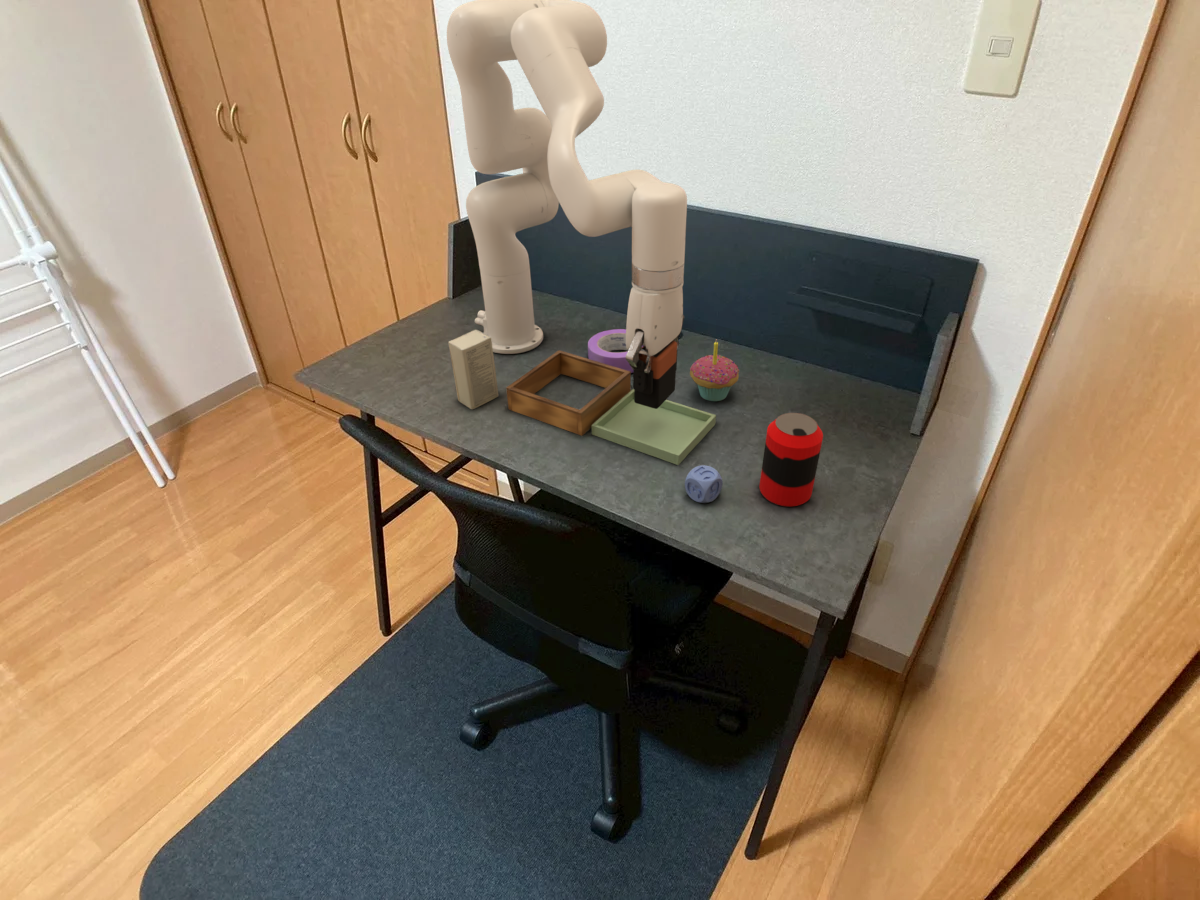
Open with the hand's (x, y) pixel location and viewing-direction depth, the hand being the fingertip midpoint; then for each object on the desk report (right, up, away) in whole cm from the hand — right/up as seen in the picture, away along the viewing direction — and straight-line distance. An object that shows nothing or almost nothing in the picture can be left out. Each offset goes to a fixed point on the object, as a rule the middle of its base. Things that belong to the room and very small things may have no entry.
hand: (655, 379), depth 114 cm
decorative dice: (+6, -18, -8) cm, 21 cm away
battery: (0, -3, +2) cm, 3 cm away
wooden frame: (-14, -2, +13) cm, 19 cm away
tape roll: (-5, +6, +25) cm, 26 cm away
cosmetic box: (-31, -2, +15) cm, 34 cm away
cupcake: (+11, -1, +14) cm, 18 cm away
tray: (0, -8, +6) cm, 10 cm away
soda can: (+19, -17, -8) cm, 27 cm away
